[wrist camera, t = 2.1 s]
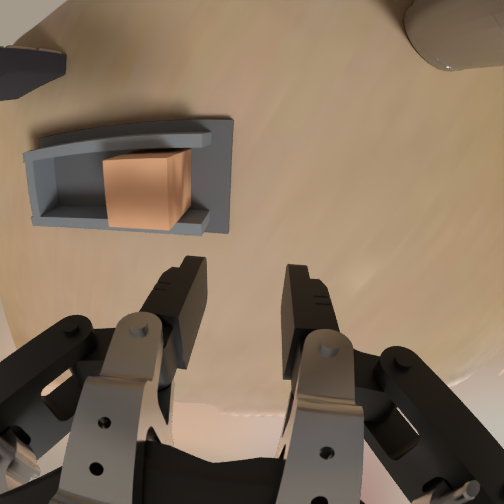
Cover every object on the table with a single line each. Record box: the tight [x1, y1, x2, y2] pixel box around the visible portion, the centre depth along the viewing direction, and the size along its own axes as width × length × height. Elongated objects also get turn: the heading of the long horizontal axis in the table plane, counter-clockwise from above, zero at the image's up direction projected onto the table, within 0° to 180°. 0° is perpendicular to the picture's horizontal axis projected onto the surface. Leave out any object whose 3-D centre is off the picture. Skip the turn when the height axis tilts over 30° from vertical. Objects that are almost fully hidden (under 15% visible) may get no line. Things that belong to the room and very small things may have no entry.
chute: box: [23, 120, 234, 236], centre depth 26 cm, size 12×26×5 cm, turn 86°
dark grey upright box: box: [0, 45, 66, 101], centre depth 15 cm, size 11×4×15 cm, turn 91°
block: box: [103, 149, 191, 231], centre depth 24 cm, size 6×6×7 cm
